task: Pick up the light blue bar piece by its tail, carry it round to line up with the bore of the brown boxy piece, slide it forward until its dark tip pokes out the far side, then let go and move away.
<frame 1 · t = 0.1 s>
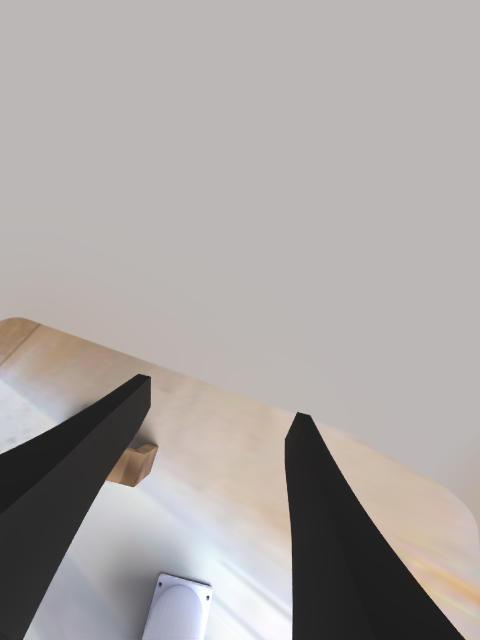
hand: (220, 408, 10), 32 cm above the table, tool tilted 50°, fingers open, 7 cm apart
brown boxy piece: (126, 452, 36), on the table
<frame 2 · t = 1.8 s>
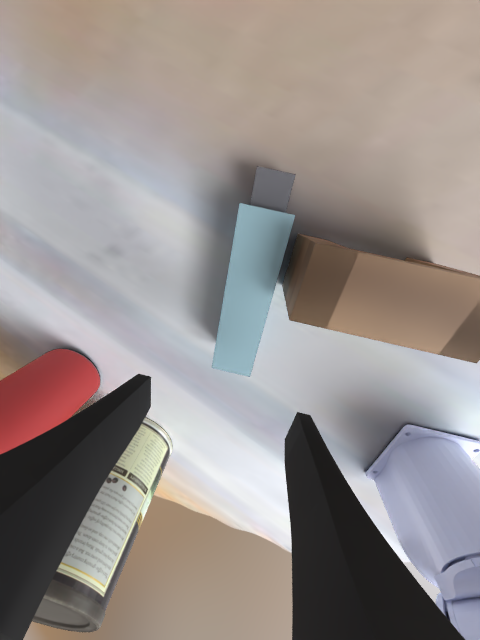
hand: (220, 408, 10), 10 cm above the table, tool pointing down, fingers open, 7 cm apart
light blue bar piece: (249, 289, 18), on the table
brown boxy piece: (353, 275, 16), on the table
beer can: (77, 368, 25), on the table
coffee can: (137, 437, 29), on the table
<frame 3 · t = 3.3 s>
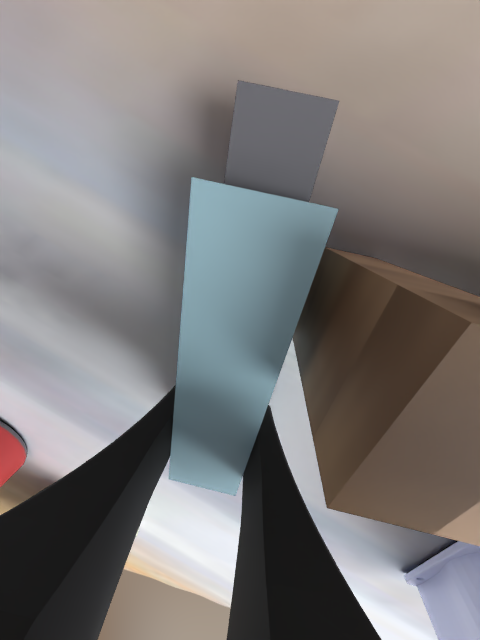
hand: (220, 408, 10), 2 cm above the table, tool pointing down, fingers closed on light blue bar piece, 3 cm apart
light blue bar piece: (236, 340, 10), on the table, touching gripper
brown boxy piece: (423, 321, 9), on the table
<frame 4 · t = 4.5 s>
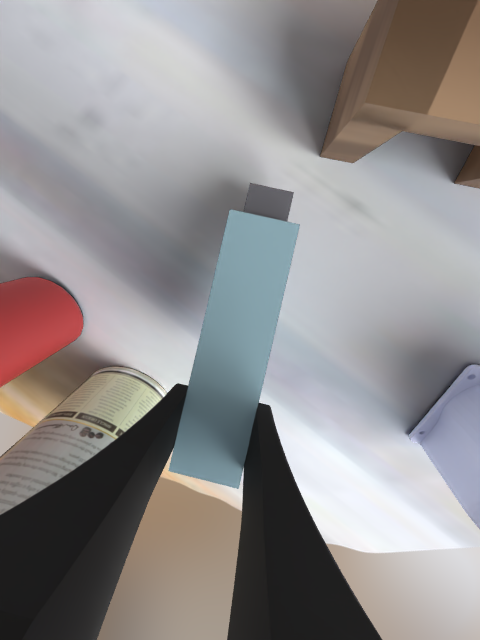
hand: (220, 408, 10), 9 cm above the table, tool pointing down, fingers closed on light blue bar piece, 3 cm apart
light blue bar piece: (237, 340, 13), point 5 cm above the table, tilted 27°, touching gripper
brown boxy piece: (422, 130, 12), on the table
beer can: (56, 308, 20), on the table
coffee can: (131, 400, 24), on the table
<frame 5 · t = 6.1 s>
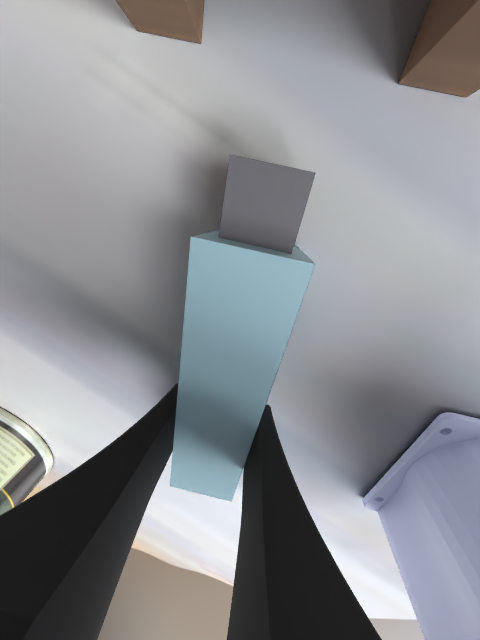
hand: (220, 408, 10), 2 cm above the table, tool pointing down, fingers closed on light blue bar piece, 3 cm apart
light blue bar piece: (232, 356, 11), on the table, touching gripper
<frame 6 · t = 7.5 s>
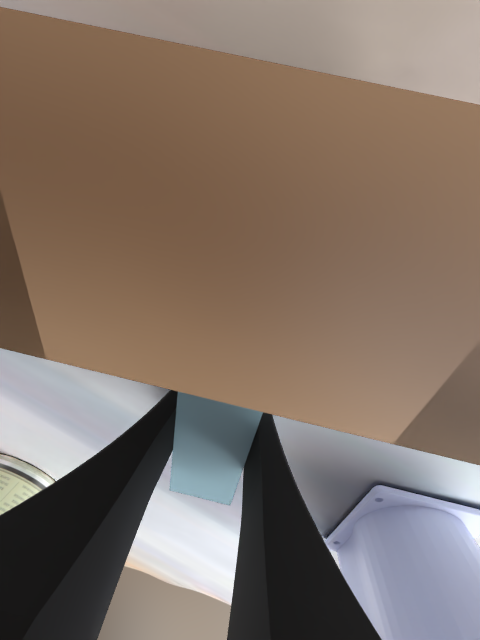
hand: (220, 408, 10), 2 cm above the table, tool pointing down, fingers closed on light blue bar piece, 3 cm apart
light blue bar piece: (231, 363, 11), on the table, touching gripper
brown boxy piece: (259, 240, 9), on the table
coffee can: (21, 481, 21), on the table
when the fingers open (2 cm above the table, at t = 9.0 s): light blue bar piece stays where it is, on the table.
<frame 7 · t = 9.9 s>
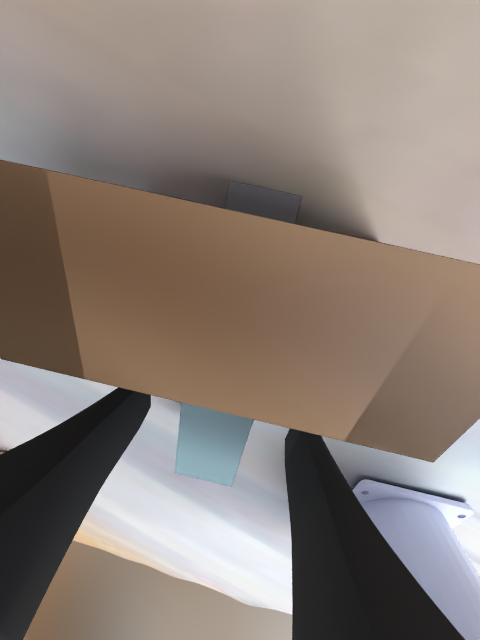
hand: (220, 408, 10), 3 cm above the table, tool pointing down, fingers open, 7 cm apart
light blue bar piece: (231, 354, 12), on the table
brown boxy piece: (251, 263, 10), on the table
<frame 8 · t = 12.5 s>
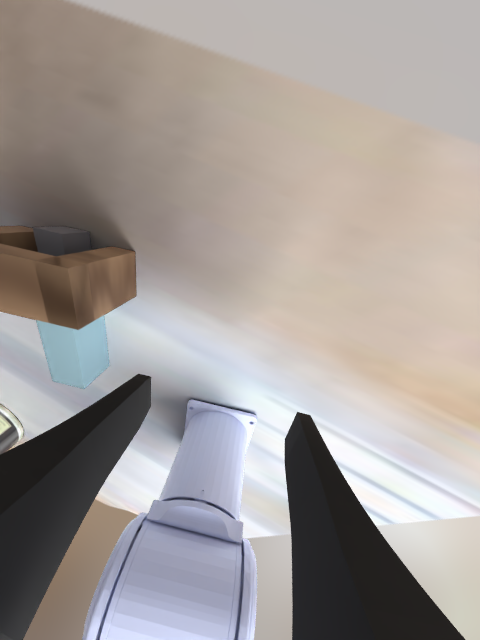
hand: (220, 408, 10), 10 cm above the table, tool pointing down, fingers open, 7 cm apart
light blue bar piece: (88, 314, 21), on the table
brown boxy piece: (81, 262, 19), on the table
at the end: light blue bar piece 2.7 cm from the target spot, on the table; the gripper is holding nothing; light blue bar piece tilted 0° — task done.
